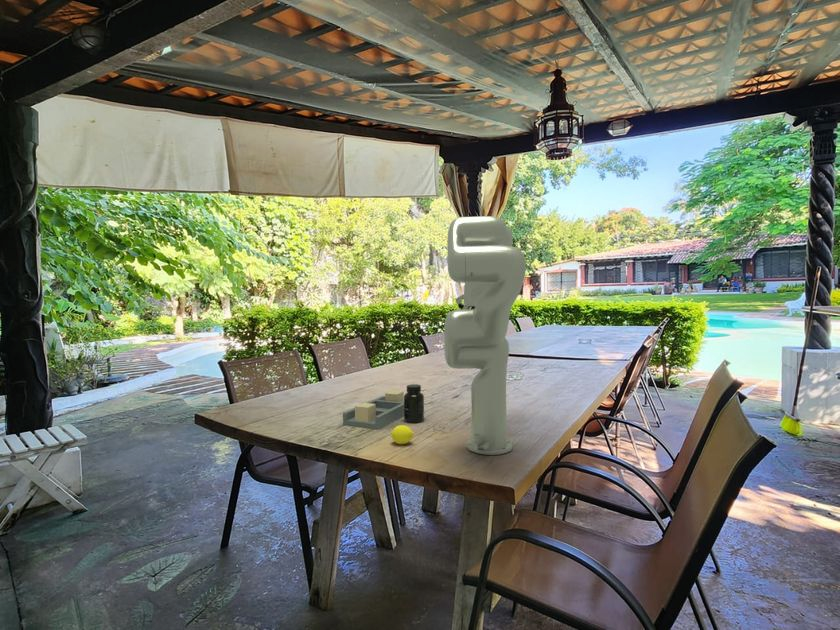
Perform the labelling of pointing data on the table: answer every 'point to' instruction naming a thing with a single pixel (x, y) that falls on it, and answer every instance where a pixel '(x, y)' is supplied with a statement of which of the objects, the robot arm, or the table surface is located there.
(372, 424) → the rail rack
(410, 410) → the supplement bottle
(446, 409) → the table surface
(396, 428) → the lemon
